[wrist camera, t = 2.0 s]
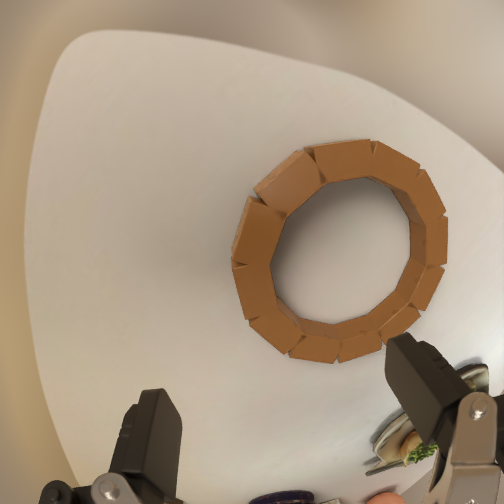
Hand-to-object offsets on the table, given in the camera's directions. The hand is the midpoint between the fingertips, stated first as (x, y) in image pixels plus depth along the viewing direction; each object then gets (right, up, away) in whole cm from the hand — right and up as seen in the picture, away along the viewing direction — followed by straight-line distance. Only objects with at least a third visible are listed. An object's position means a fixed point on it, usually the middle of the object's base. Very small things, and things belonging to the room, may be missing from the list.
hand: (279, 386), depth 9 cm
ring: (+5, +4, +9) cm, 11 cm away
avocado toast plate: (+22, -16, +17) cm, 32 cm away
